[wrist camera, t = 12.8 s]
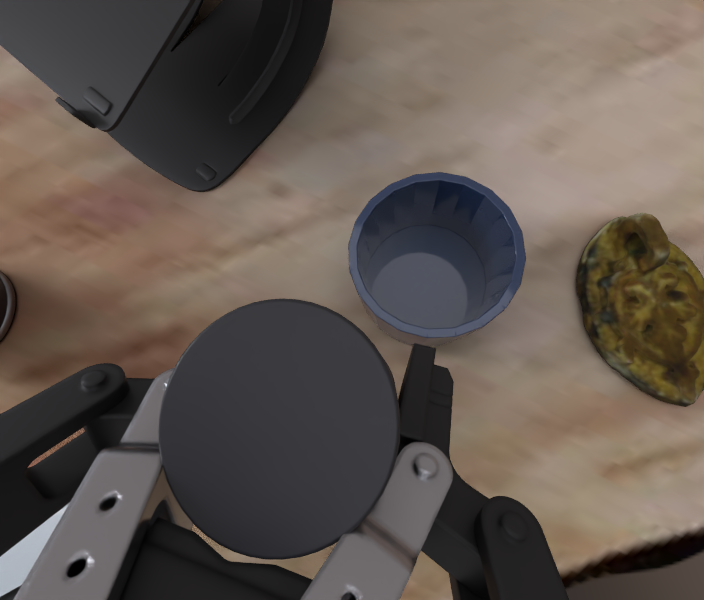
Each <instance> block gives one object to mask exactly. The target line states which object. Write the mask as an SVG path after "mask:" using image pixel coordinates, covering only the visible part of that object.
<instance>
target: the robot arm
mask: <svg viewBox="0 0 704 600" xmlns="http://www.w3.org/2000/svg"><path fill="white" fill-rule="evenodd" d="M14 312H15V293H14V289H13V286H12V284H11V282H10V281H9V279H8V278H7V277H6V276H5V275H4V274H3V273H1V272H0V341H1V339H2V338H3V337H4V335H5V334H6V332H7V331H8V329H9V327H10V325H11V322H12V319H13V316H14ZM435 351H436V349H435V348H431V347H428V346H424V345H420V344H417V343H414V345H413V348H412V351H411V355H410V358H409V361H408V365H407V368H406V372H405V375H404V379H403V383H402V386H401V391H400V395H399V399H398V403H399V409H400V424H401V425H400V443H399V448H398V453H397V459H396V462H395V466H394V469H393V472H392V475H391V478H390V480H389V482H388V484H387V486H386V488H385V491H384V493H383V495H382V496H381V498H380V499H379V501H378V502H377V504H376V505H375V507H374V508H373V510H372V511H371V512H370V513H369V514H368V516H367V517H366V518H365V519H364V520H363V522H362V523H361V524H359V525H358V526H357V527H356V528H355V529H354V530H353V531H351V532H350V533H348V534H343V535H342V537H341V538H340V540H339V541H338V543H337V544H336V546H335V547H334V549H333V550H332V552H331V553H330V555H329V556H328V558H327V560H326V561H325V563H324V564H323V566H322V567H321V569H320V570H319V572H318V573H317V575H316V576H315V578H314V580H311V579H309V578H306V577H304V576H302V575H299V574H297V573H294V572H292V571H289V570H287V569H284V568H282V567H279V566H277V565H271V564H256V563H242V562H230V561H227V560H226V559H224V558H223V557H222V556H221V555H220V554H219V553H217V552H216V551H215V550H214V549H213V548H212V547H211V546H210V545H209V544H207V543H206V542H205V541H204V540H203V539H202V538H201V537H200V536H199V535H197V534H196V533H195V532H194V531H192V528H193V523H192V522H191V520H190V519H189V518H188V517H187V515H186V514H185V513H184V512H183V511H182V509H181V507H180V506H179V504H178V502H177V501H176V499H175V497H174V496H173V493H172V491H171V489H170V487H169V484H168V482H167V480H166V476H165V473H164V470H163V466H162V461H161V456H160V450H159V433H158V431H159V416H160V410H161V405H162V400H163V396H164V393H165V390H166V386H167V384H168V381H169V379H170V377H171V374H172V372H173V370H174V368H172V369H169V370H167V371H165V372H163V373H162V374H160V375H159V376H158V377H156V379H142V378H126V376H125V373H124V371H123V369H122V368H121V367H119V366H118V365H115V364H110V363H103V364H96V365H93V366H90V367H87V368H85V369H83V370H81V371H79V372H77V373H75V374H73V375H71V376H70V377H68V378H66V379H64V380H62V381H60V382H59V383H57V384H55V385H53V386H51V387H50V388H48V389H46V390H44V391H42V392H40V393H39V394H37V395H35V396H33V397H31V398H29V399H28V400H26V401H24V402H22V403H20V404H18V405H17V406H15V407H13V408H11V409H9V410H7V411H6V412H4V413H2V414H0V557H1V556H2V555H3V554H4V553H6V552H7V551H8V550H10V549H11V548H12V547H13V546H15V545H16V544H17V543H18V542H20V541H21V540H22V539H24V538H25V537H26V536H27V535H29V534H30V533H31V532H33V531H34V530H35V529H36V528H38V527H39V526H40V525H41V524H43V523H44V522H45V521H47V520H48V519H49V518H50V517H52V516H53V515H54V514H56V513H57V512H58V511H59V510H61V509H62V508H63V507H64V506H66V505H67V504H68V503H69V505H68V507H67V508H66V510H65V512H64V513H63V515H62V517H61V519H60V520H59V522H58V524H57V525H56V527H55V529H54V531H53V532H52V534H51V536H50V538H49V539H48V541H47V543H46V544H45V546H44V548H43V550H42V551H41V553H40V555H39V556H38V558H37V560H36V562H35V563H34V565H33V567H32V568H31V570H30V572H29V574H28V575H27V577H26V579H25V581H24V582H23V584H22V585H20V586H19V587H17V588H15V589H13V590H11V591H10V592H8V593H6V594H4V595H3V596H1V597H0V600H399V599H400V597H401V595H402V593H403V591H404V588H405V586H406V584H407V582H408V580H409V577H410V575H411V573H412V571H413V568H414V566H415V564H416V560H417V557H418V555H419V553H420V551H423V552H424V553H425V554H426V555H427V556H429V557H430V558H431V559H432V560H434V561H435V562H436V563H437V564H438V565H440V566H441V567H442V568H443V569H445V570H446V571H447V572H448V573H449V577H450V583H451V589H452V594H453V600H569V598H568V596H567V593H566V590H565V588H564V585H563V583H562V580H561V577H560V575H559V572H558V570H557V567H556V564H555V562H554V559H553V557H552V554H551V551H550V549H549V546H548V543H547V541H546V538H545V536H544V533H543V530H542V528H541V526H540V524H539V522H538V521H537V519H536V518H535V516H534V515H533V514H532V513H531V512H530V510H529V509H528V508H526V507H525V506H524V505H523V504H521V503H520V502H518V501H516V500H514V499H512V498H509V497H505V496H496V497H493V498H491V499H488V498H487V497H486V496H484V495H483V494H481V493H480V492H478V491H477V490H475V489H474V488H472V487H471V486H470V485H468V484H467V483H466V482H465V481H464V480H462V479H461V477H460V476H459V475H458V474H457V472H456V471H455V469H454V467H453V465H452V463H451V460H450V456H449V444H450V429H451V413H452V409H451V408H452V396H453V379H452V377H451V375H450V372H449V370H448V368H444V367H441V366H437V365H434V359H435ZM81 428H84V430H85V432H84V433H82V434H81V435H79V436H78V437H76V438H75V439H73V440H72V441H70V442H69V443H67V444H66V445H64V446H63V447H61V448H60V449H58V450H57V451H56V452H54V453H53V454H51V455H50V456H48V457H47V458H45V459H44V460H42V461H41V462H39V463H38V464H36V465H34V466H32V467H30V468H28V466H29V465H30V463H31V462H32V461H33V460H35V459H36V458H37V457H39V456H40V455H42V454H43V453H45V452H46V451H48V450H49V449H51V448H52V447H54V446H55V445H57V444H58V443H60V442H61V441H63V440H64V439H66V438H67V437H69V436H70V435H72V434H74V433H75V432H77V431H78V430H80V429H81Z"/></svg>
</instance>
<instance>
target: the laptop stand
mask: <svg viewBox="0 0 704 600" xmlns="http://www.w3.org/2000/svg"><path fill="white" fill-rule="evenodd" d="M202 3H203V0H0V45H1V46H2V47H3V48H4V49H5V50H7V51H8V52H9V53H10V54H11V55H12V56H14V57H15V58H16V59H17V60H18V61H19V62H20V63H22V64H23V65H24V66H25V67H26V68H27V69H29V70H30V71H31V72H32V73H33V74H35V75H36V76H37V77H38V78H39V79H40V80H42V81H43V82H44V83H45V84H46V85H47V86H49V87H50V88H51V89H52V90H53V91H54V92H56V93H57V94H58V95H59V96H60V97H61V98H63V99H64V100H65V101H66V102H65V101H64V100H62V99H61V98H60V97H57V99H56V101H57V102H58V103H59V104H60V105H61V106H62V107H63V108H65V109H66V110H67V111H68V112H69V113H71V114H72V115H73V116H75V117H76V118H78V119H79V120H81V121H82V122H84V123H85V124H87V125H88V126H90V127H92V128H98V129H100V130H102V131H104V132H107V133H108V134H109V135H110V136H111V137H113V138H114V139H115V140H116V141H117V142H118V143H119V144H120V145H122V146H123V147H124V148H125V149H127V150H128V151H129V152H130V153H131V154H133V155H134V156H135V157H137V158H138V159H139V160H141V161H142V162H143V163H145V164H146V165H148V166H149V167H151V168H152V169H154V170H155V171H157V172H158V173H160V174H162V175H163V176H165V177H166V178H168V179H170V180H172V181H173V182H175V183H177V184H179V185H181V186H183V187H185V188H187V189H190V190H193V191H208V190H211V189H213V188H215V187H217V186H218V185H220V184H221V183H222V182H224V181H225V180H226V179H227V178H228V177H229V176H230V175H231V174H233V173H234V172H235V170H236V169H237V168H238V167H239V166H240V165H241V164H242V163H243V162H244V161H245V160H246V159H247V158H248V157H249V156H250V154H251V153H252V152H253V151H254V150H255V149H256V148H257V147H258V146H259V145H260V144H261V143H262V142H263V141H264V140H265V139H266V138H267V137H268V135H269V134H270V133H271V132H272V131H273V130H274V129H275V128H276V126H277V125H278V124H279V123H280V121H281V120H282V119H283V117H284V116H285V115H286V113H287V112H288V111H289V109H290V108H291V106H292V105H293V103H294V102H295V100H296V99H297V97H298V96H299V94H300V93H301V91H302V89H303V87H304V85H305V84H306V82H307V80H308V78H309V76H310V75H311V72H312V70H313V68H314V66H315V64H316V62H317V60H318V58H319V55H320V53H321V50H322V47H323V45H324V41H325V38H326V34H327V30H328V26H329V21H330V16H331V10H332V4H333V0H223V1H222V2H221V3H220V4H219V5H218V6H217V7H216V8H215V9H214V10H213V11H212V12H211V13H210V14H209V15H208V16H207V17H206V18H205V19H204V20H203V21H202V22H201V23H200V24H199V25H198V26H197V27H196V28H195V29H194V30H193V31H192V32H191V33H190V34H189V35H188V36H187V37H186V38H185V39H184V40H183V41H182V42H181V43H180V44H179V45H178V43H179V42H180V41H181V39H182V38H183V36H184V35H185V33H186V32H187V30H188V28H189V27H190V25H191V24H192V22H193V21H194V19H195V17H196V15H197V13H198V11H199V9H200V7H201V5H202ZM177 45H178V46H177ZM176 46H177V47H176ZM174 49H175V50H174Z"/></svg>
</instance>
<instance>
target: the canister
mask: <svg viewBox="0 0 704 600" xmlns="http://www.w3.org/2000/svg"><path fill="white" fill-rule="evenodd" d="M400 425H401V424H400V409H399V403H398V398H397V393H396V387H395V382H394V378H393V375H392V372H391V370H390V368H389V366H388V365H387V363H386V362H385V360H384V359H383V357H382V356H381V354H380V353H379V351H378V350H377V348H376V347H375V345H374V344H373V343H372V342H371V341H370V340H369V338H368V337H367V336H366V335H365V334H364V333H363V332H362V331H361V330H360V329H359V328H358V327H357V326H356V325H354V324H353V323H352V322H351V321H349V320H348V319H346V318H345V317H343V316H342V315H340V314H339V313H337V312H335V311H333V310H331V309H329V308H327V307H324V306H321V305H318V304H315V303H312V302H307V301H302V300H296V299H271V300H264V301H259V302H254V303H251V304H248V305H245V306H242V307H240V308H237V309H235V310H233V311H231V312H229V313H227V314H225V315H224V316H222V317H221V318H219V319H218V320H216V321H215V322H213V323H212V324H211V325H209V326H208V327H207V328H206V329H205V330H203V331H202V332H201V333H200V334H199V335H198V336H197V337H196V338H195V340H194V341H193V342H192V343H191V344H190V345H189V347H188V348H187V349H186V351H185V352H184V353H183V355H182V356H181V358H180V359H179V361H178V363H177V365H176V366H175V368H174V370H173V372H172V374H171V377H170V379H169V381H168V384H167V386H166V390H165V393H164V396H163V400H162V405H161V410H160V416H159V431H158V433H159V450H160V456H161V461H162V466H163V470H164V473H165V476H166V480H167V482H168V484H169V487H170V489H171V491H172V493H173V496H174V497H175V499H176V501H177V502H178V504H179V506H180V507H181V509H182V511H183V512H184V513H185V514H186V515H187V517H188V518H189V519H190V520H191V522H192V523H193V524H194V525H195V526H196V527H197V528H198V529H200V530H201V531H202V532H203V533H204V534H205V535H206V536H208V537H209V538H211V539H212V540H213V541H215V542H216V543H218V544H219V545H221V546H223V547H225V548H228V549H230V550H232V551H234V552H237V553H240V554H243V555H246V556H249V557H255V558H261V559H290V558H296V557H302V556H305V555H309V554H312V553H315V552H318V551H320V550H323V549H325V548H327V547H329V546H331V545H333V544H335V543H336V542H338V541H339V540H340V538H341V537H342V535H343V534H348V533H350V532H351V531H353V530H354V529H355V528H356V527H357V526H358V525H359V524H361V523H362V522H363V520H364V519H365V518H366V517H367V516H368V514H369V513H370V512H371V511H372V510H373V508H374V507H375V505H376V504H377V502H378V501H379V499H380V498H381V496H382V495H383V493H384V491H385V488H386V486H387V484H388V482H389V480H390V478H391V475H392V472H393V469H394V466H395V462H396V459H397V453H398V448H399V443H400Z"/></svg>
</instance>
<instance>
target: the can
mask: <svg viewBox="0 0 704 600" xmlns="http://www.w3.org/2000/svg"><path fill="white" fill-rule="evenodd" d="M348 250H349V270H350V274H351V276H352V279H353V282H354V284H355V287H356V290H357V292H358V295H359V297H360V299H361V301H362V303H363V306H364V308H365V310H366V312H367V314H368V315H369V316H370V317H371V319H372V320H373V321H374V323H375V324H376V325H377V326H378V327H379V329H381V330H382V331H384V332H385V333H386V334H388V335H389V336H391V337H392V338H394V339H396V340H398V341H401V342H403V343H406V344H410V345H414V343H417V344H420V345H424V346H440V345H444V344H446V343H449V342H452V341H454V340H457V339H460V338H462V337H464V336H466V335H468V334H470V333H472V332H474V331H476V330H478V329H480V328H482V327H484V326H485V325H486V324H488V323H489V322H490V321H491V320H493V319H494V318H495V317H496V316H498V315H499V314H500V313H501V312H502V311H504V310H505V308H507V306H508V304H509V303H510V301H511V300H512V298H513V296H514V295H515V293H516V291H517V290H518V288H519V287H520V284H521V280H522V275H523V271H524V266H525V261H526V256H525V249H524V242H523V234H522V231H521V229H520V227H519V225H518V223H517V221H516V219H515V217H514V215H513V213H512V211H511V209H509V207H508V206H507V205H506V204H505V203H504V202H503V201H502V200H501V199H500V198H499V197H498V196H497V195H496V194H495V193H494V192H493V191H492V190H490V189H489V188H487V187H485V186H483V185H481V184H479V183H477V182H475V181H473V180H471V179H469V178H467V177H464V176H458V175H453V174H448V173H443V172H441V173H440V172H437V173H426V174H416V175H412V176H410V177H407V178H405V179H402V180H400V181H397V182H395V183H392V184H390V185H389V186H387V187H386V188H385V189H384V190H382V191H381V192H380V193H378V194H377V195H376V196H375V197H373V198H372V199H371V200H370V201H369V202H368V204H367V205H366V207H365V208H364V209H363V211H362V212H361V214H360V215H359V217H358V218H357V220H356V221H355V224H354V228H353V231H352V234H351V238H350V241H349V246H348Z"/></svg>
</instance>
